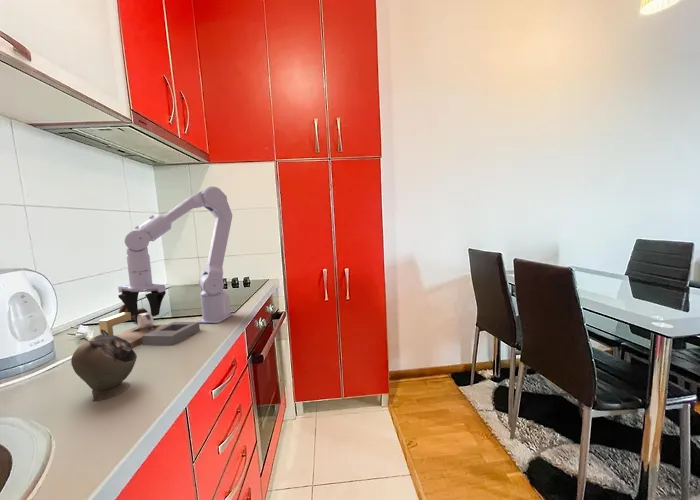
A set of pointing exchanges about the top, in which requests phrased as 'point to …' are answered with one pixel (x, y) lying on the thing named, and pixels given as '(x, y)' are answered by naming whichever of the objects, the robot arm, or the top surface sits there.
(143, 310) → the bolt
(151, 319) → the peg
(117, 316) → the bar
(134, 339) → the socket board
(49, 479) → the top surface
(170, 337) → the frame
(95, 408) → the top surface
